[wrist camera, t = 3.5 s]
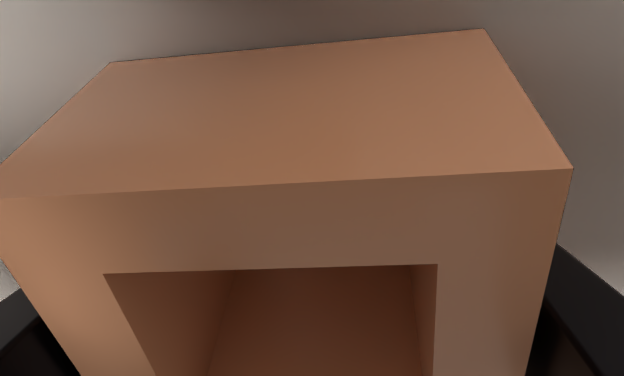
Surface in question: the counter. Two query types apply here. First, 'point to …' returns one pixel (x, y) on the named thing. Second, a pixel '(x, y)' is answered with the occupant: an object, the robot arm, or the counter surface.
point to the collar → (292, 213)
